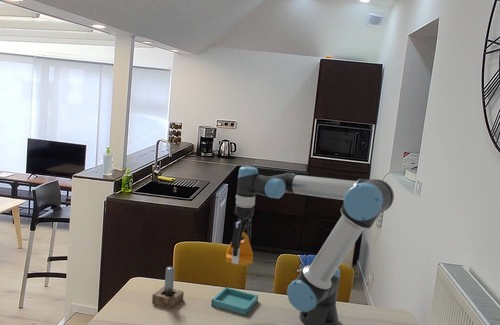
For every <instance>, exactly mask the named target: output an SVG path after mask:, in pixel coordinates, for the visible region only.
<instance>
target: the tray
mask: <svg viewBox="0 0 500 325" xmlns="http://www.w3.org/2000/svg"><path fill="white" fill-rule="evenodd" d="M258 300H259V295H257V294H254V293H251V292H246V291H242V290H239V289H235V288H231V287H228V286H225V287H224V288H223V289H221V290H220V291H219V293H217V294H216V295H215V296H214V297H213V298H212V299H211V304H210V305H211V306H212V307H215V308H217V309H222V310H226V311H229V312H233V313H236V314H240V315H243V316H247V315H248V313H249V312H250V311H251V310H252V309H253V307H254V306H255V305H256V304H257V302H258Z"/></svg>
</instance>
